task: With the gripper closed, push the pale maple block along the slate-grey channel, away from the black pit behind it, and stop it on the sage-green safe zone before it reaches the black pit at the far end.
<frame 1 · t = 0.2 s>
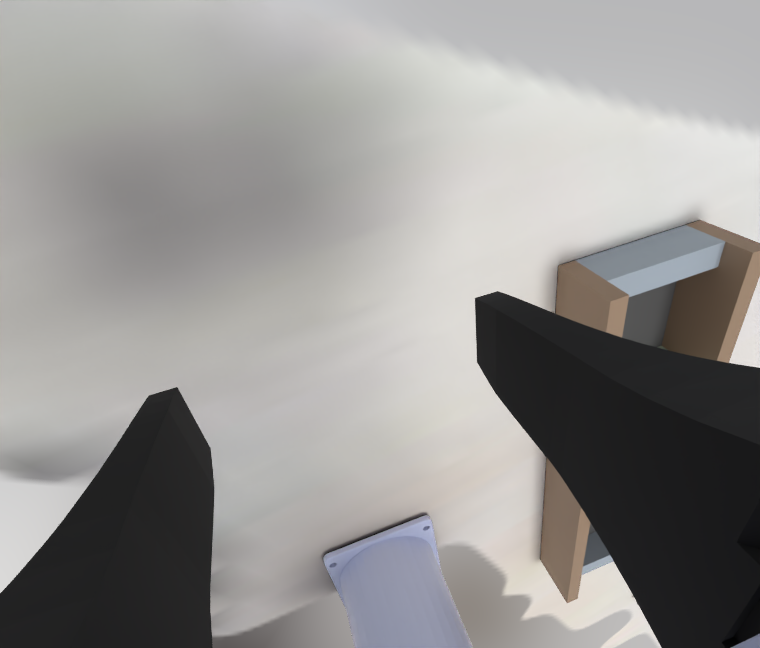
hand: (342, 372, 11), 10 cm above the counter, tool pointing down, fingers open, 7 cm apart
trap track: (600, 430, 34), on the counter
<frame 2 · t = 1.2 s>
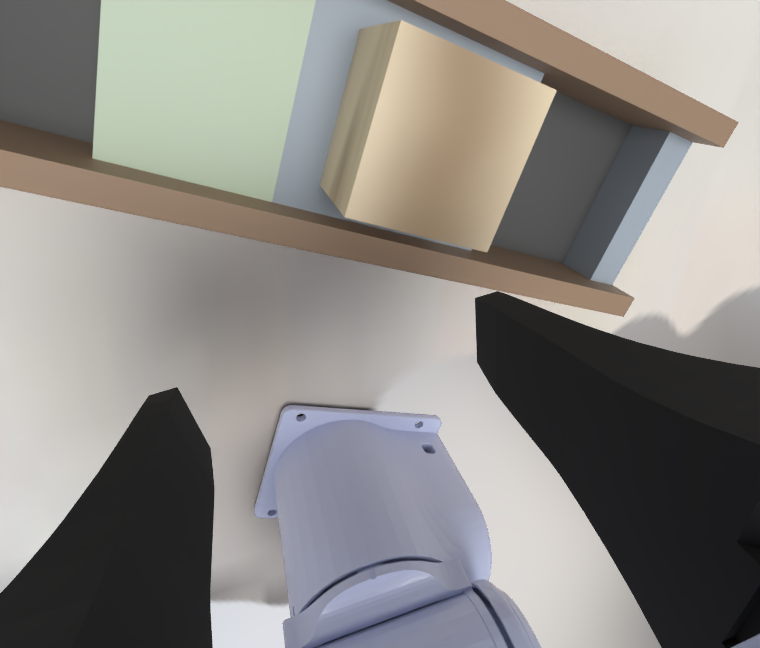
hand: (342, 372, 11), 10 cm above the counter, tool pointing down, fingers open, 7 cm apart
maple block: (404, 134, 16), point 2 cm above the counter, touching trap track
trap track: (324, 105, 17), on the counter
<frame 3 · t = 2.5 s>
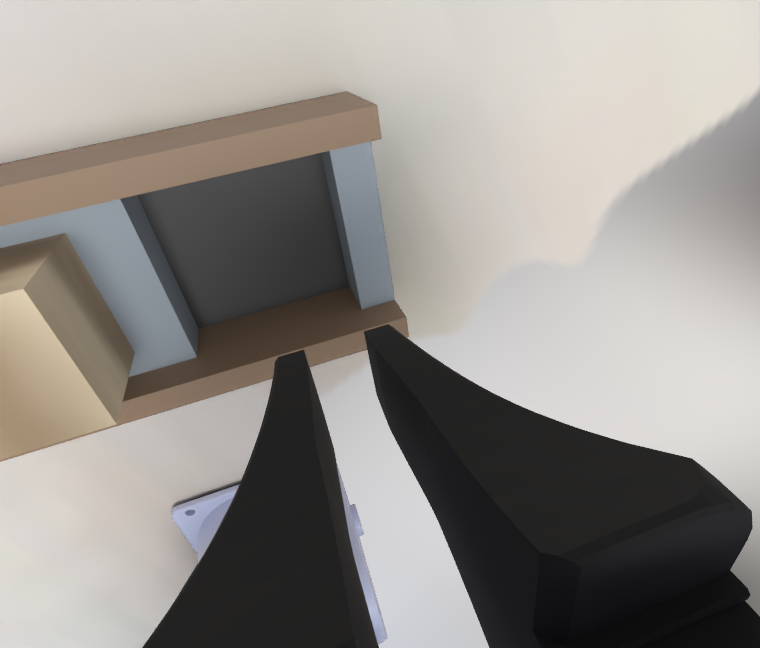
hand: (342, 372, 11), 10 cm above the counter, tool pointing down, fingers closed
maple block: (27, 317, 16), point 2 cm above the counter, touching trap track
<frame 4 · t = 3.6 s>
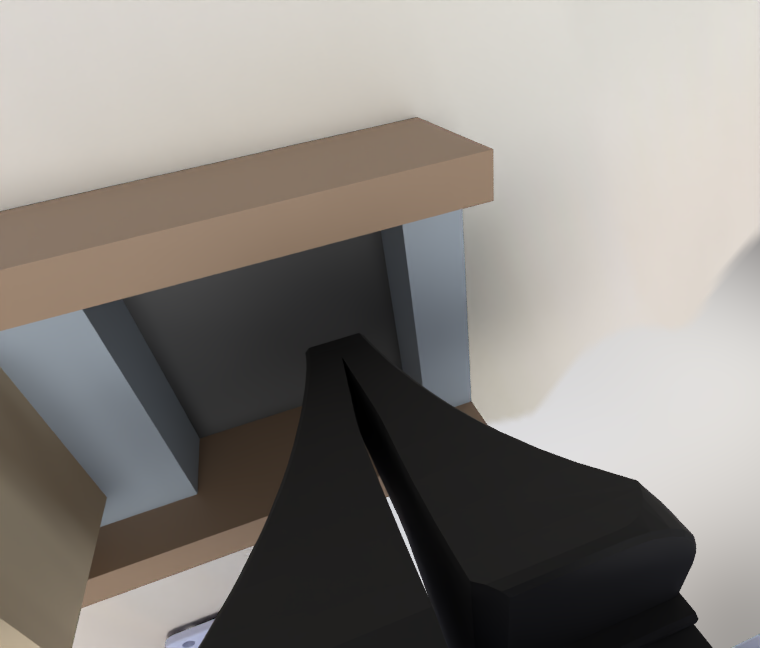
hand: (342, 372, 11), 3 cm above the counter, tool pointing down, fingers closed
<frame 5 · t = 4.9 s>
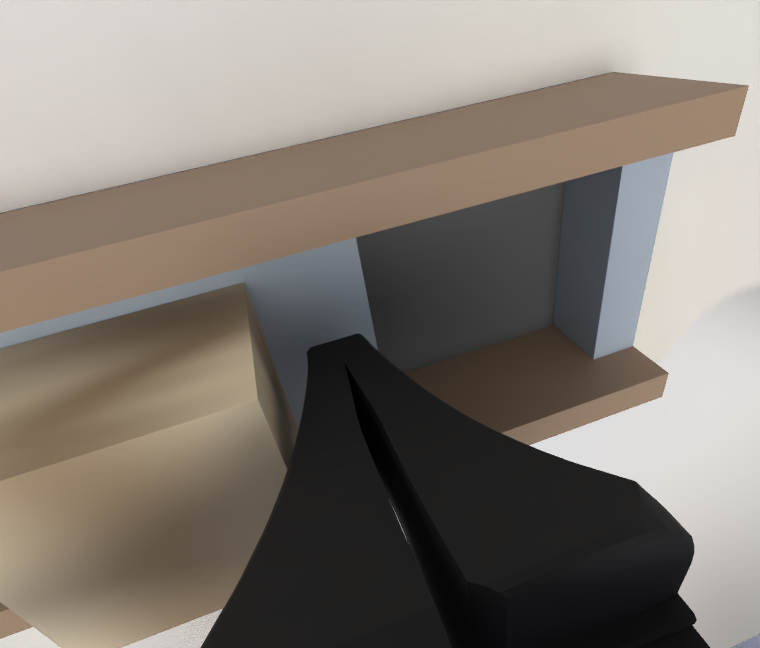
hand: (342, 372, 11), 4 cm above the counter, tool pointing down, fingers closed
maple block: (174, 398, 11), point 3 cm above the counter, touching gripper
trap track: (114, 361, 13), on the counter
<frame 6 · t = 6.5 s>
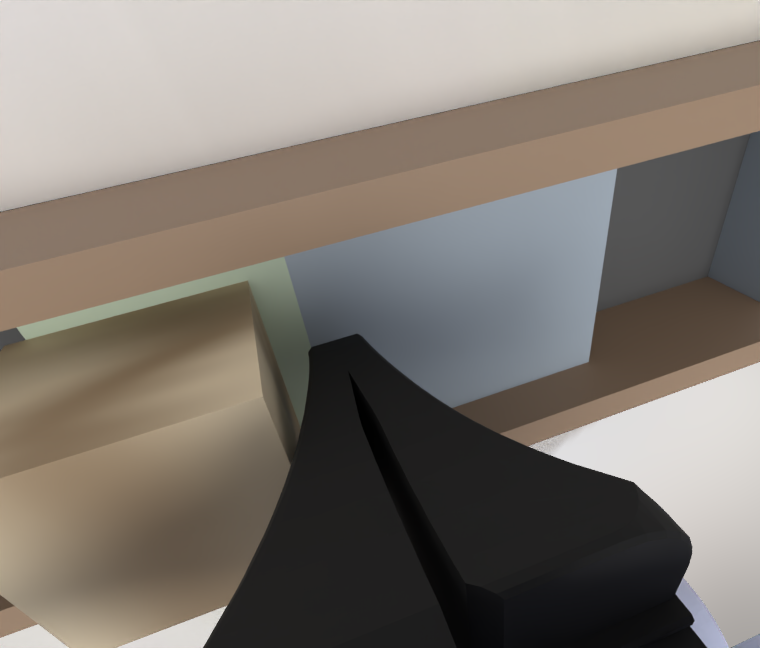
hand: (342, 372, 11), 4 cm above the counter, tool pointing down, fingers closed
maple block: (177, 396, 11), point 3 cm above the counter, touching gripper, trap track
trap track: (347, 294, 14), on the counter
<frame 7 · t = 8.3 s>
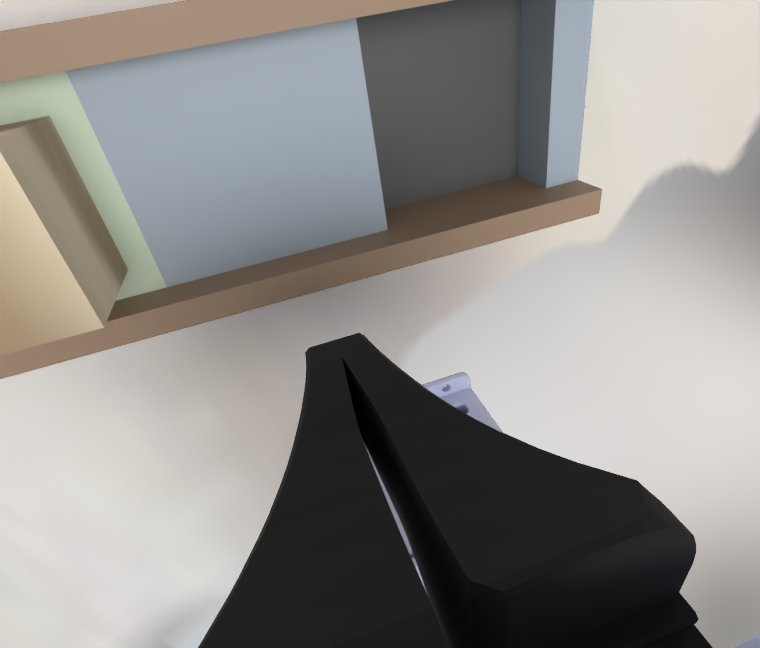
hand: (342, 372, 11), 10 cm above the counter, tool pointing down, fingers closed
maple block: (8, 218, 14), point 2 cm above the counter, touching trap track
trap track: (176, 165, 17), on the counter
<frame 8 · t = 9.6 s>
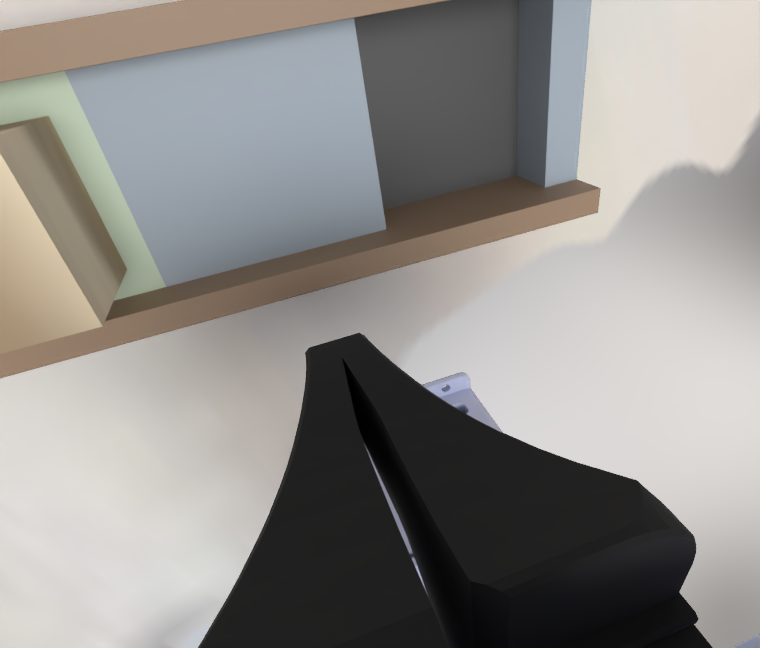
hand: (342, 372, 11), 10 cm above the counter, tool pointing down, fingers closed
maple block: (7, 218, 14), point 2 cm above the counter, touching trap track
trap track: (175, 165, 17), on the counter
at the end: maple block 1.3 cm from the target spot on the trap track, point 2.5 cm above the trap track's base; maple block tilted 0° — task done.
